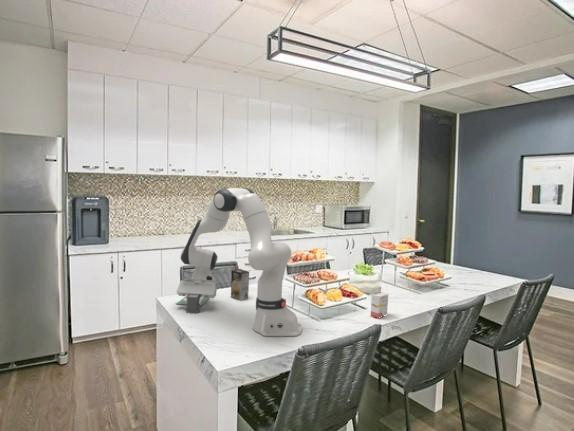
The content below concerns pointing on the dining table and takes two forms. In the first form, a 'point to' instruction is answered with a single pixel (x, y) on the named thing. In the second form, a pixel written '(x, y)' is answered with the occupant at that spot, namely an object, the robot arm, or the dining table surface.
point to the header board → (182, 302)
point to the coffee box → (239, 284)
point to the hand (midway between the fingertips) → (192, 303)
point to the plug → (193, 304)
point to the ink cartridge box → (379, 303)
